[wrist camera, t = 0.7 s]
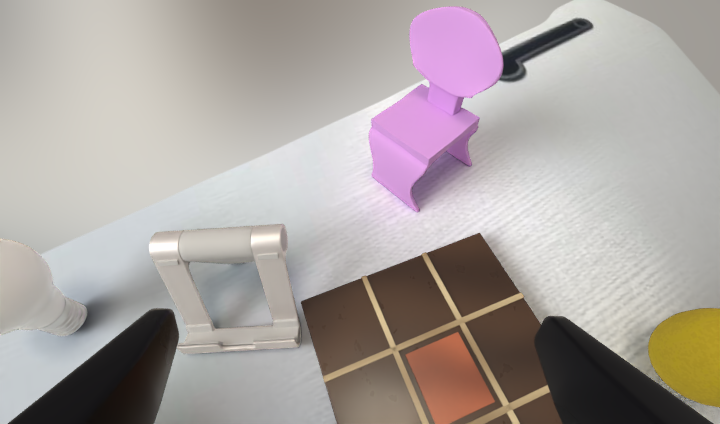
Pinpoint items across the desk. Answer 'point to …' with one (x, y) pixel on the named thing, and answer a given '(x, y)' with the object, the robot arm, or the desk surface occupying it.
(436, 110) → the toy chair
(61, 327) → the lightbulb
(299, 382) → the desk surface
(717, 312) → the lemon
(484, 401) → the board
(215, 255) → the tablet stand
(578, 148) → the desk surface
